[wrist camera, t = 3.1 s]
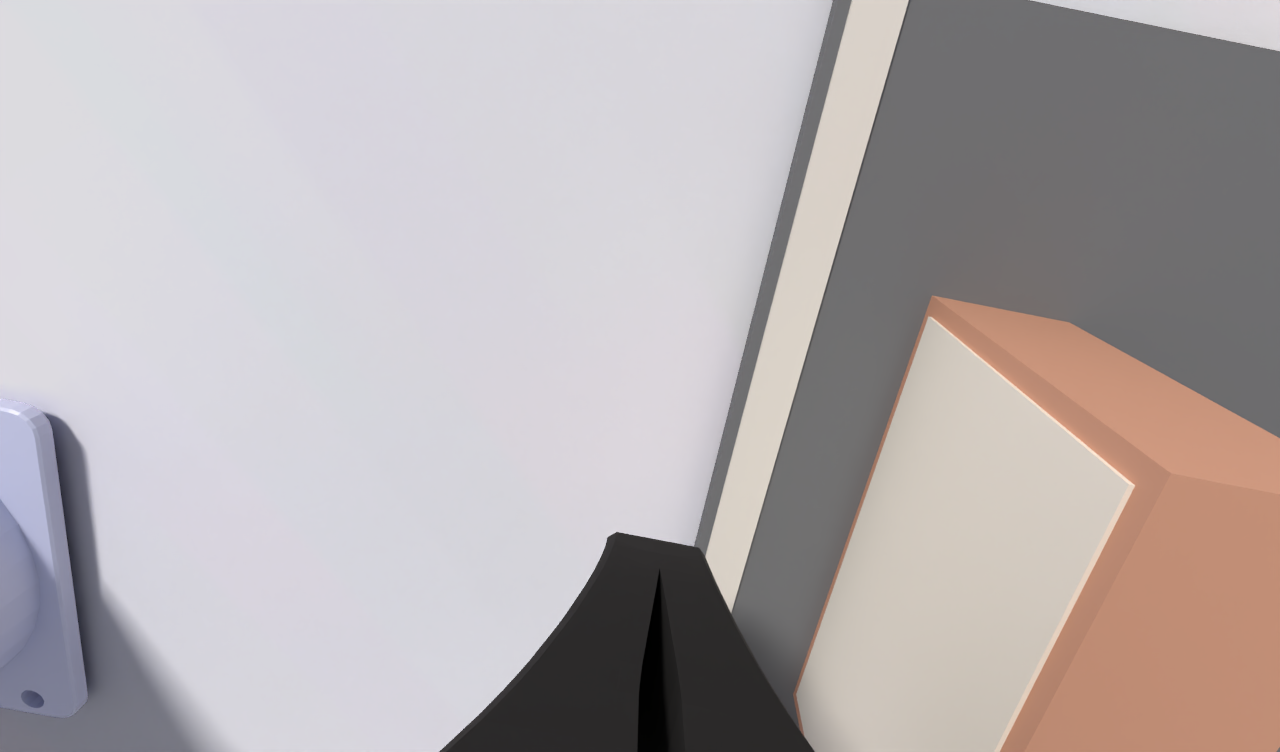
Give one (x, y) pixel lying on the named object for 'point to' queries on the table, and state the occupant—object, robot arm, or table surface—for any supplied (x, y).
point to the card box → (1051, 559)
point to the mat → (985, 252)
